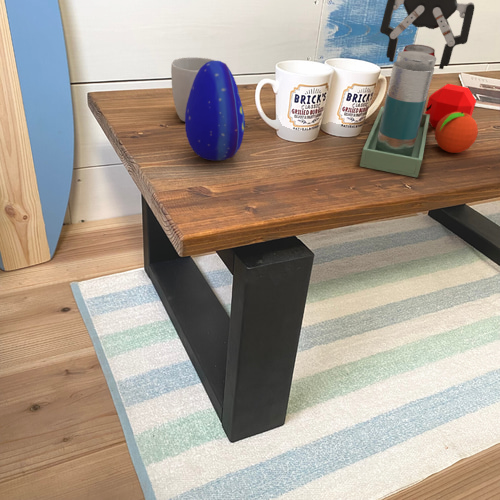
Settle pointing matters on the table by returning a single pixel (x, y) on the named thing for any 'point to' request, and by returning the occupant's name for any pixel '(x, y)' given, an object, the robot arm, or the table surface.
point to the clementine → (456, 132)
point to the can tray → (394, 161)
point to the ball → (449, 102)
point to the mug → (184, 80)
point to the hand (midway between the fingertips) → (416, 64)
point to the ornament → (214, 113)
